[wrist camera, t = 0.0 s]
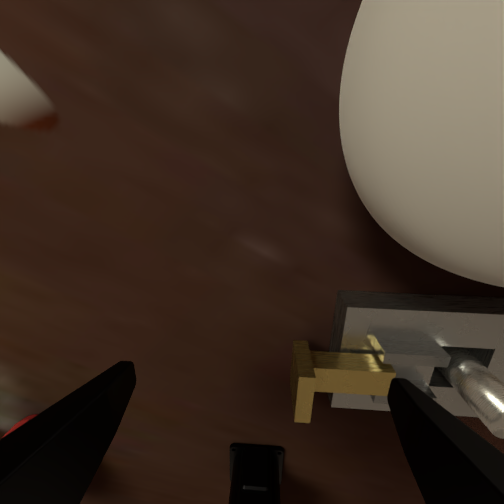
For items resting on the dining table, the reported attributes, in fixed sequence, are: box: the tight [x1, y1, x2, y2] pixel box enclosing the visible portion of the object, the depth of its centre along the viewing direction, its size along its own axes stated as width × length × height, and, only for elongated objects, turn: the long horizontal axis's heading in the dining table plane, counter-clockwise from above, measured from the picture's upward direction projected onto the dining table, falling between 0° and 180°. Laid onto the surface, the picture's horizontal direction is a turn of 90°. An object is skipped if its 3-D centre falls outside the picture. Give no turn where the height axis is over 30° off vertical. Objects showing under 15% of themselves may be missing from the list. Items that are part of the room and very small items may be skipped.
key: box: [290, 340, 396, 423], centre depth 20 cm, size 4×8×4 cm, turn 89°
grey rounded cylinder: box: [437, 346, 504, 439], centre depth 21 cm, size 3×3×8 cm
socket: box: [327, 290, 504, 417], centre depth 23 cm, size 11×16×5 cm
